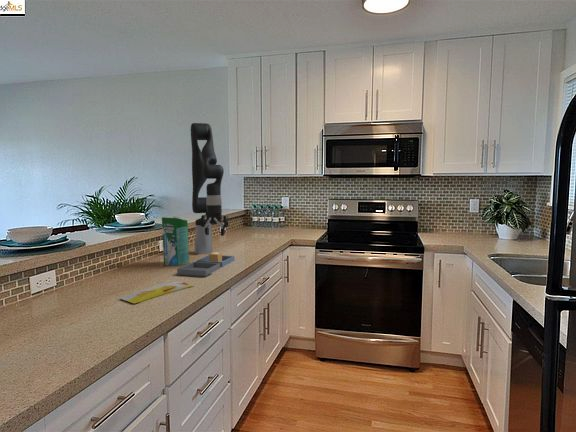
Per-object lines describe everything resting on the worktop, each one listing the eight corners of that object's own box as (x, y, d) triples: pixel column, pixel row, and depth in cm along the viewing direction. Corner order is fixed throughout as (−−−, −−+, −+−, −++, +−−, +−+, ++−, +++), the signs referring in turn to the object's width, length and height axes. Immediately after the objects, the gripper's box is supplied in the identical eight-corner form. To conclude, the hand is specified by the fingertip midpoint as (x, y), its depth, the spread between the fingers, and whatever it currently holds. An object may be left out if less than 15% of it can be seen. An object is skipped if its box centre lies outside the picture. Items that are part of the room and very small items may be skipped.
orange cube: (209, 263, 191) (208, 253, 190) (213, 261, 196) (213, 252, 195) (217, 264, 190) (217, 254, 189) (222, 262, 194) (222, 252, 194)
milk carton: (189, 263, 196) (187, 216, 193) (177, 266, 187) (175, 217, 185) (175, 261, 199) (173, 215, 197) (163, 265, 191) (161, 217, 188)
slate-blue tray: (196, 266, 188) (195, 260, 187) (209, 260, 202) (209, 254, 201) (222, 268, 184) (222, 262, 183) (234, 261, 198) (234, 256, 197)
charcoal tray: (177, 275, 171) (177, 268, 171) (193, 267, 185) (193, 261, 185) (205, 277, 167) (205, 270, 167) (220, 269, 181) (220, 263, 181)
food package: (133, 300, 132) (118, 295, 138) (133, 306, 132) (118, 301, 138) (194, 282, 154) (179, 278, 160) (194, 287, 154) (179, 284, 160)
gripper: (197, 204, 188) (198, 236, 189) (223, 204, 184) (224, 237, 186) (205, 203, 195) (206, 233, 197) (229, 203, 191) (230, 234, 193)
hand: (214, 235), depth 191 cm, fingers open, 8 cm apart
